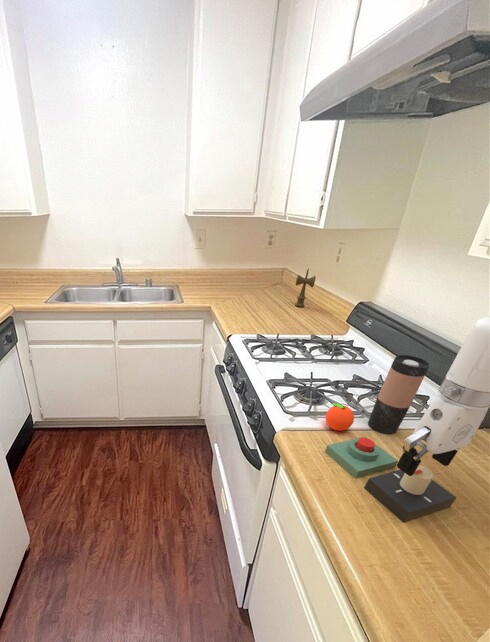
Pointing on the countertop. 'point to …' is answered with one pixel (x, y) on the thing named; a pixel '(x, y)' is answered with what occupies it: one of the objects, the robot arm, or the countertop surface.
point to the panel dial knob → (417, 481)
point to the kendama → (304, 281)
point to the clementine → (339, 417)
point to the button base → (360, 458)
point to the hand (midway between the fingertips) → (422, 466)
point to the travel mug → (397, 393)
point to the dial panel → (408, 496)
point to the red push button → (365, 445)
